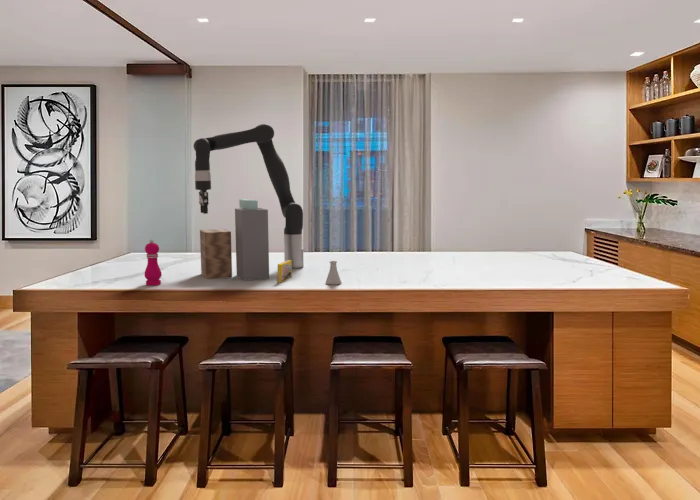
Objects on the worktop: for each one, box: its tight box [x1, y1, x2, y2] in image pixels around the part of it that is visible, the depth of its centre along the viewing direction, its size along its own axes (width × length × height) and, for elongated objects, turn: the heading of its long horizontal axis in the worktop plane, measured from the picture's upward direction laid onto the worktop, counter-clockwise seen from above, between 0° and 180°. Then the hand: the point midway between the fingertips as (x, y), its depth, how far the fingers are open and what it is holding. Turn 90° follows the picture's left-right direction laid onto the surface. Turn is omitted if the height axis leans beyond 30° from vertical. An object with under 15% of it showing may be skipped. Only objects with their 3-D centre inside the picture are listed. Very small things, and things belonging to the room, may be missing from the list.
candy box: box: [276, 260, 292, 284], centre depth 299 cm, size 16×2×8 cm, turn 168°
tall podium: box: [234, 207, 270, 281], centre depth 305 cm, size 12×16×32 cm
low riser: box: [199, 228, 233, 280], centre depth 311 cm, size 12×16×22 cm
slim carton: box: [238, 198, 259, 210], centre depth 309 cm, size 4×22×4 cm, turn 21°
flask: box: [325, 260, 342, 286], centre depth 287 cm, size 7×7×10 cm
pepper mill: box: [144, 239, 163, 287], centre depth 287 cm, size 7×7×20 cm
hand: (204, 213), depth 321 cm, fingers open, 8 cm apart
